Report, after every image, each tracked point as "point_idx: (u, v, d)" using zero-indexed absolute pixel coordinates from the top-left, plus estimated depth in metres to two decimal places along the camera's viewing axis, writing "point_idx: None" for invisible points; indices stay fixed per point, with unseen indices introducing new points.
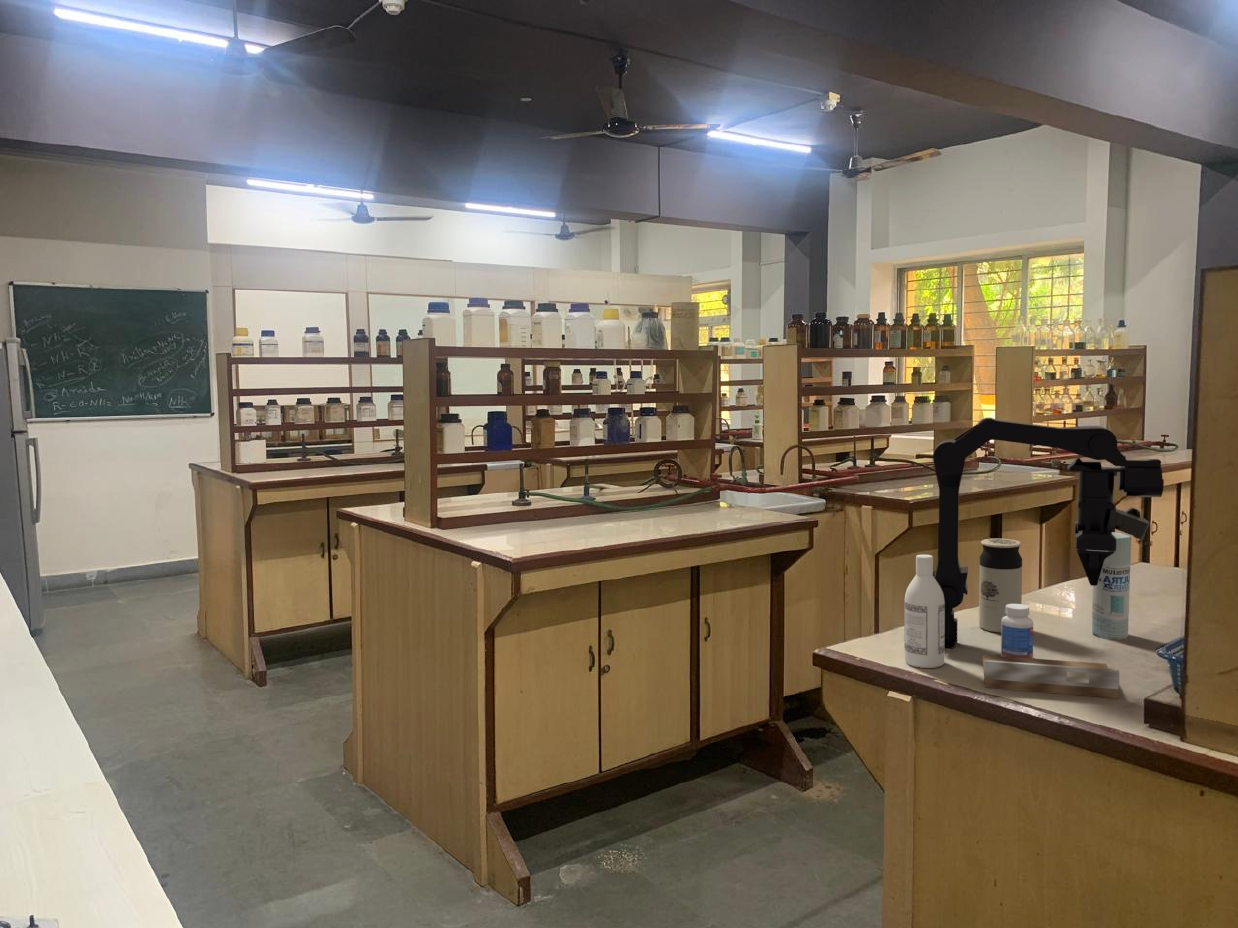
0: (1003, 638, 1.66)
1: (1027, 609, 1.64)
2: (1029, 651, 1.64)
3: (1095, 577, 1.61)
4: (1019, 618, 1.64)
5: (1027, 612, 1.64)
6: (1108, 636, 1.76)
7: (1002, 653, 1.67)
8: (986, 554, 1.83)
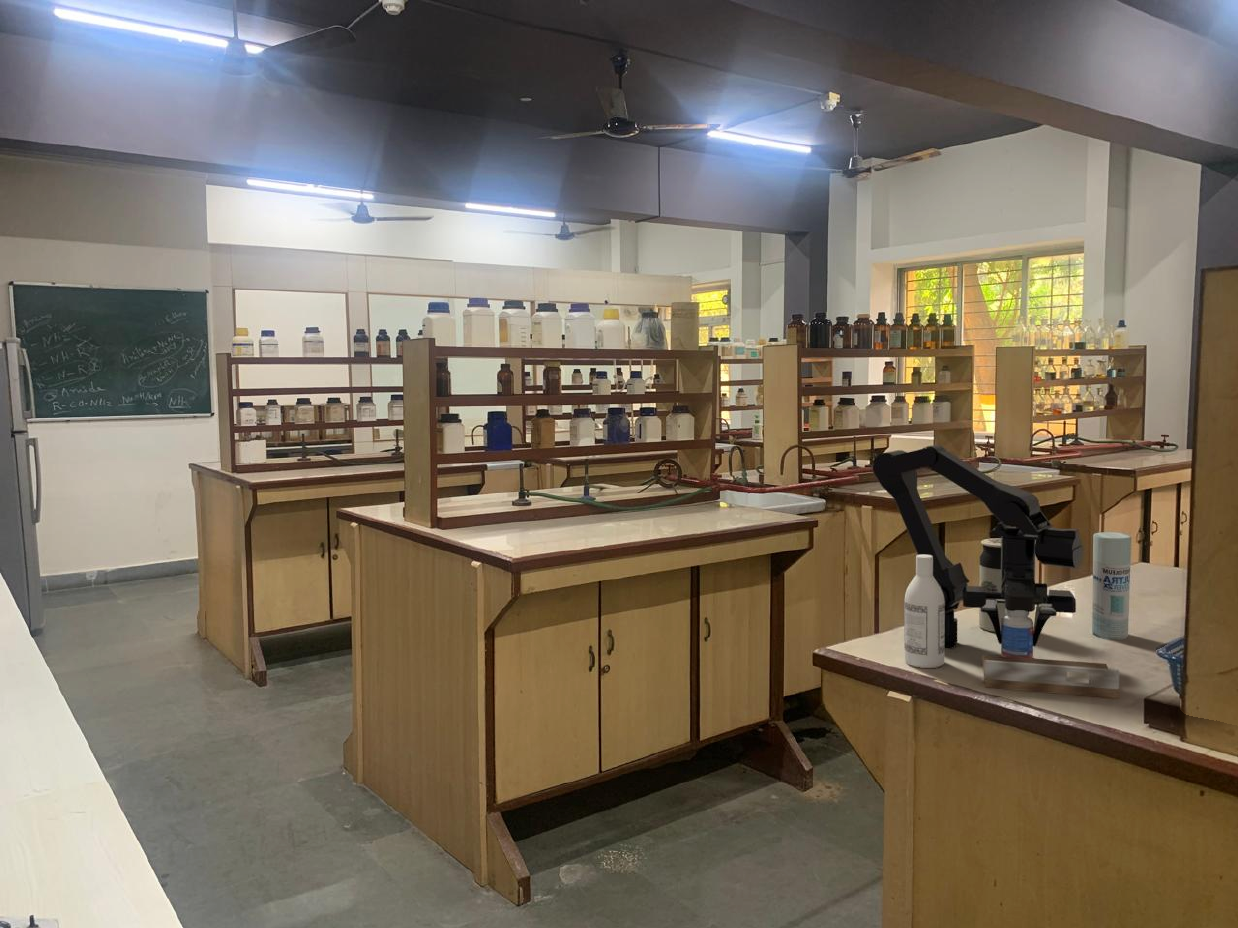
0: (1003, 638, 1.66)
1: None
2: (1029, 651, 1.64)
3: (996, 634, 1.67)
4: (1019, 617, 1.64)
5: (1027, 612, 1.64)
6: (1108, 636, 1.76)
7: (1002, 653, 1.67)
8: (986, 554, 1.83)
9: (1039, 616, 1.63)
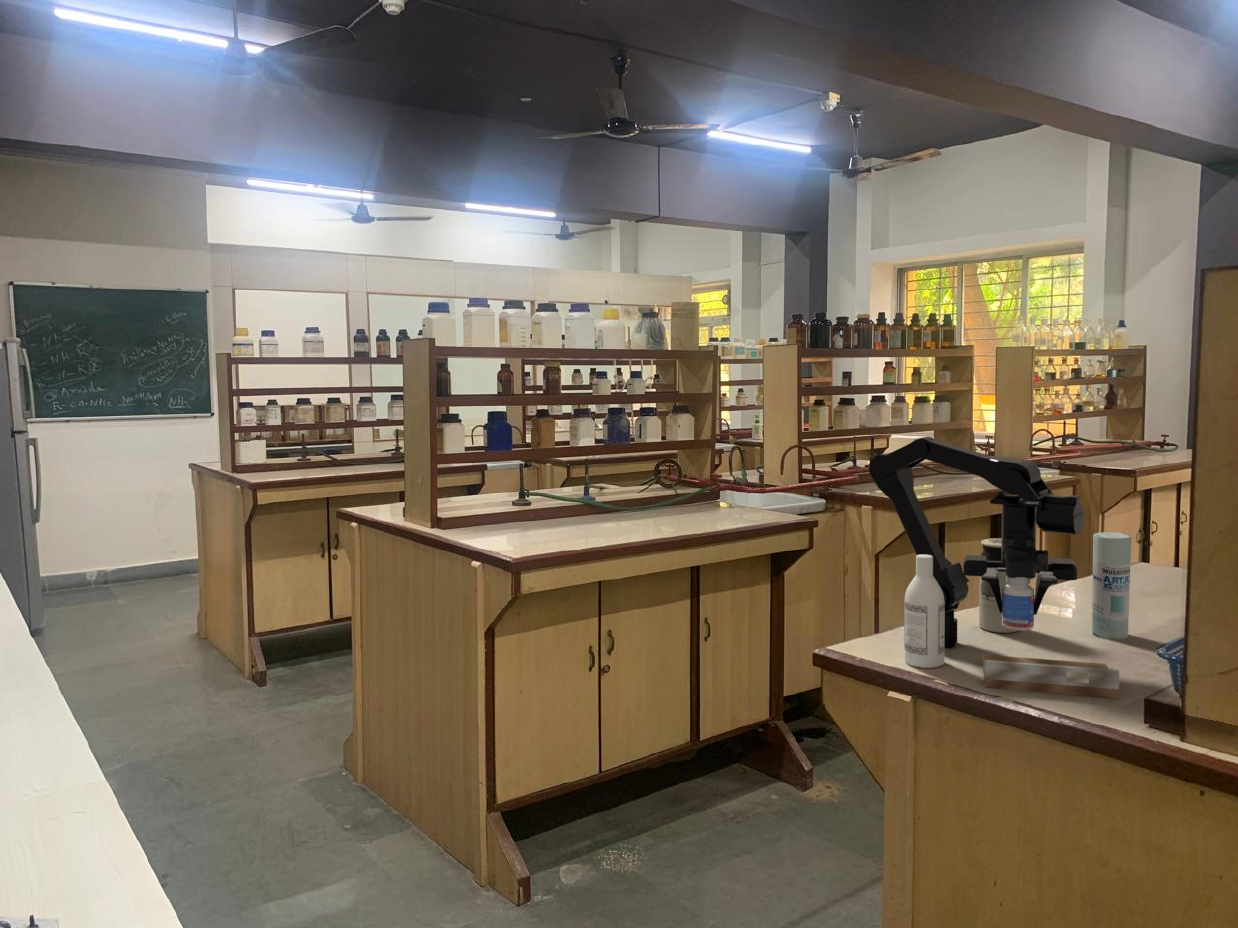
0: (1004, 607, 1.65)
1: None
2: (1030, 619, 1.64)
3: (997, 603, 1.67)
4: (1020, 586, 1.64)
5: (1028, 580, 1.64)
6: (1108, 636, 1.76)
7: (1003, 622, 1.66)
8: (986, 554, 1.83)
9: (1040, 584, 1.62)
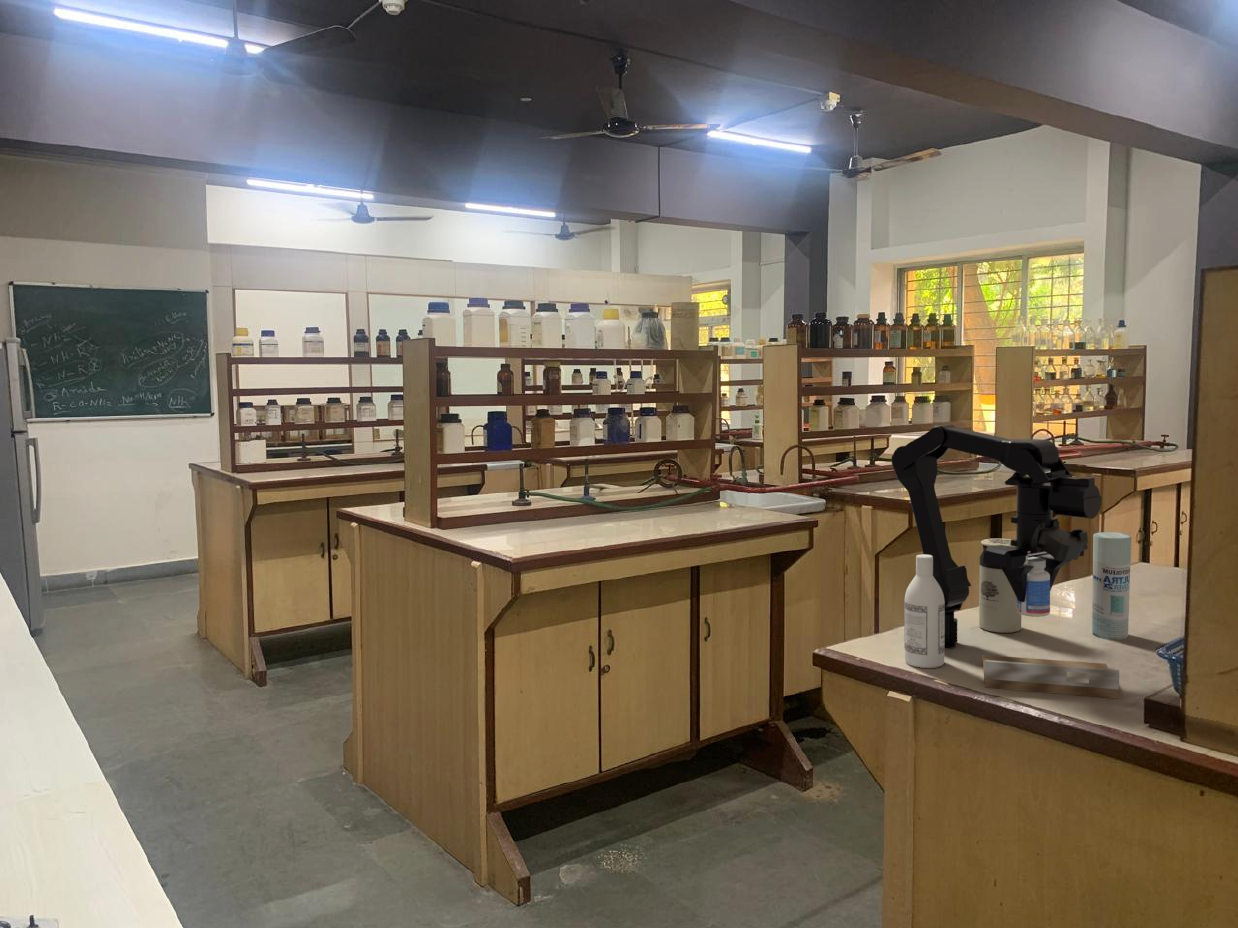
0: (1029, 595, 1.58)
1: None
2: None
3: (1019, 593, 1.58)
4: (1042, 570, 1.58)
5: None
6: (1108, 636, 1.76)
7: (1027, 611, 1.58)
8: None
9: (1059, 565, 1.59)
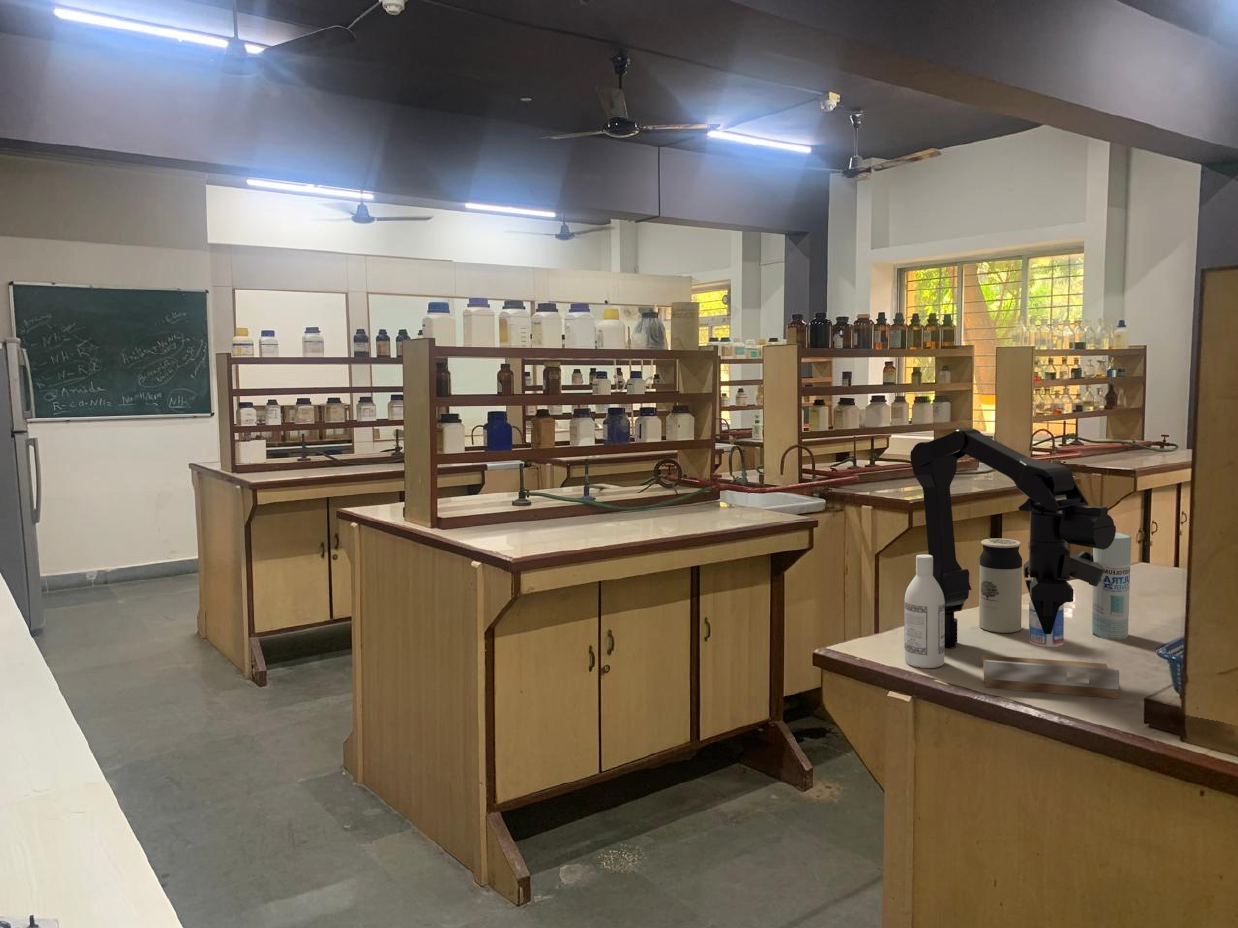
0: (1055, 625, 1.53)
1: None
2: None
3: (1049, 625, 1.52)
4: None
5: None
6: (1108, 636, 1.76)
7: (1053, 642, 1.53)
8: (986, 554, 1.83)
9: None
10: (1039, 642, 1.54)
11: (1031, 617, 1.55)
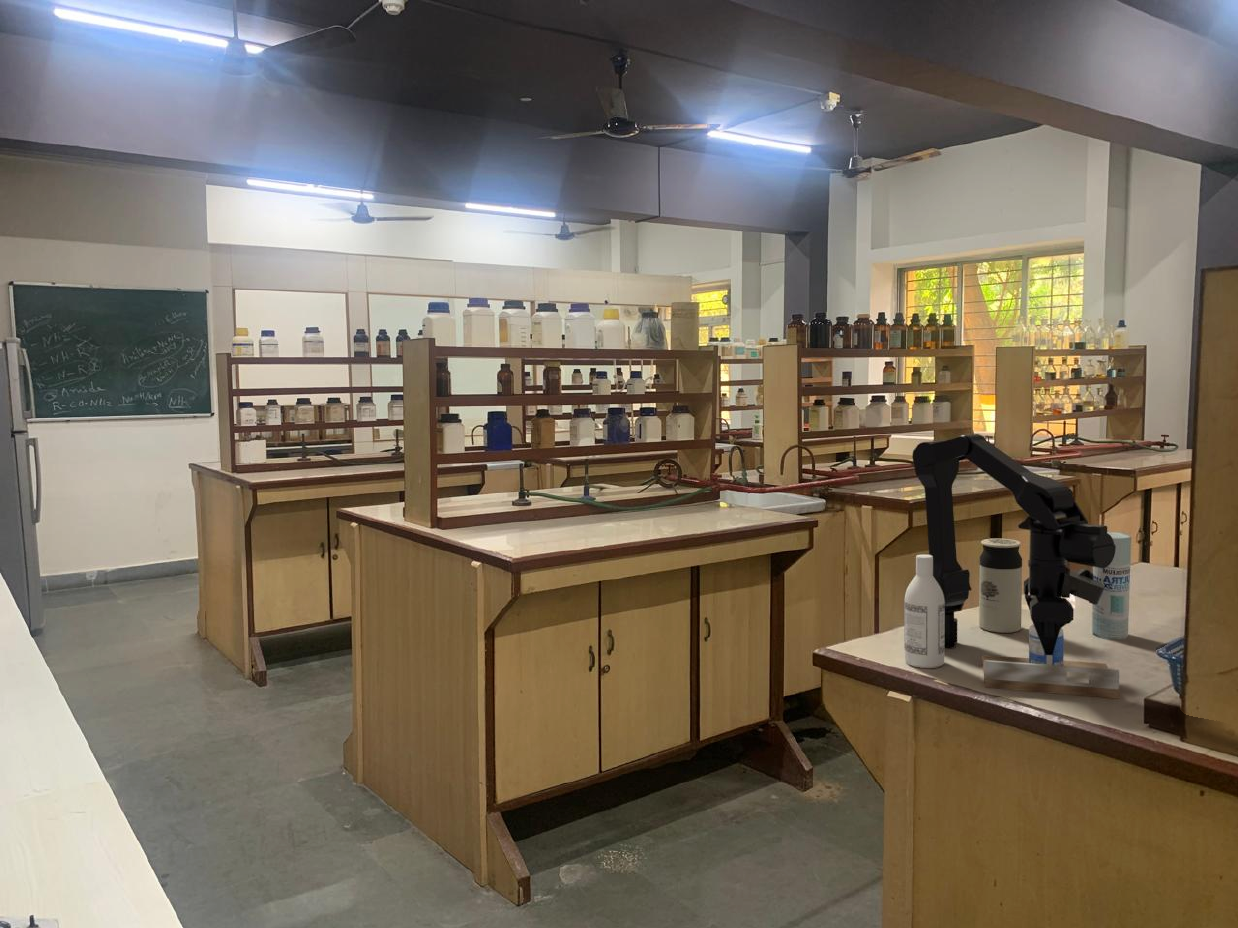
0: (1055, 651, 1.53)
1: None
2: None
3: (1050, 646, 1.50)
4: None
5: None
6: (1108, 636, 1.76)
7: None
8: (986, 554, 1.83)
9: None
10: None
11: (1031, 642, 1.55)
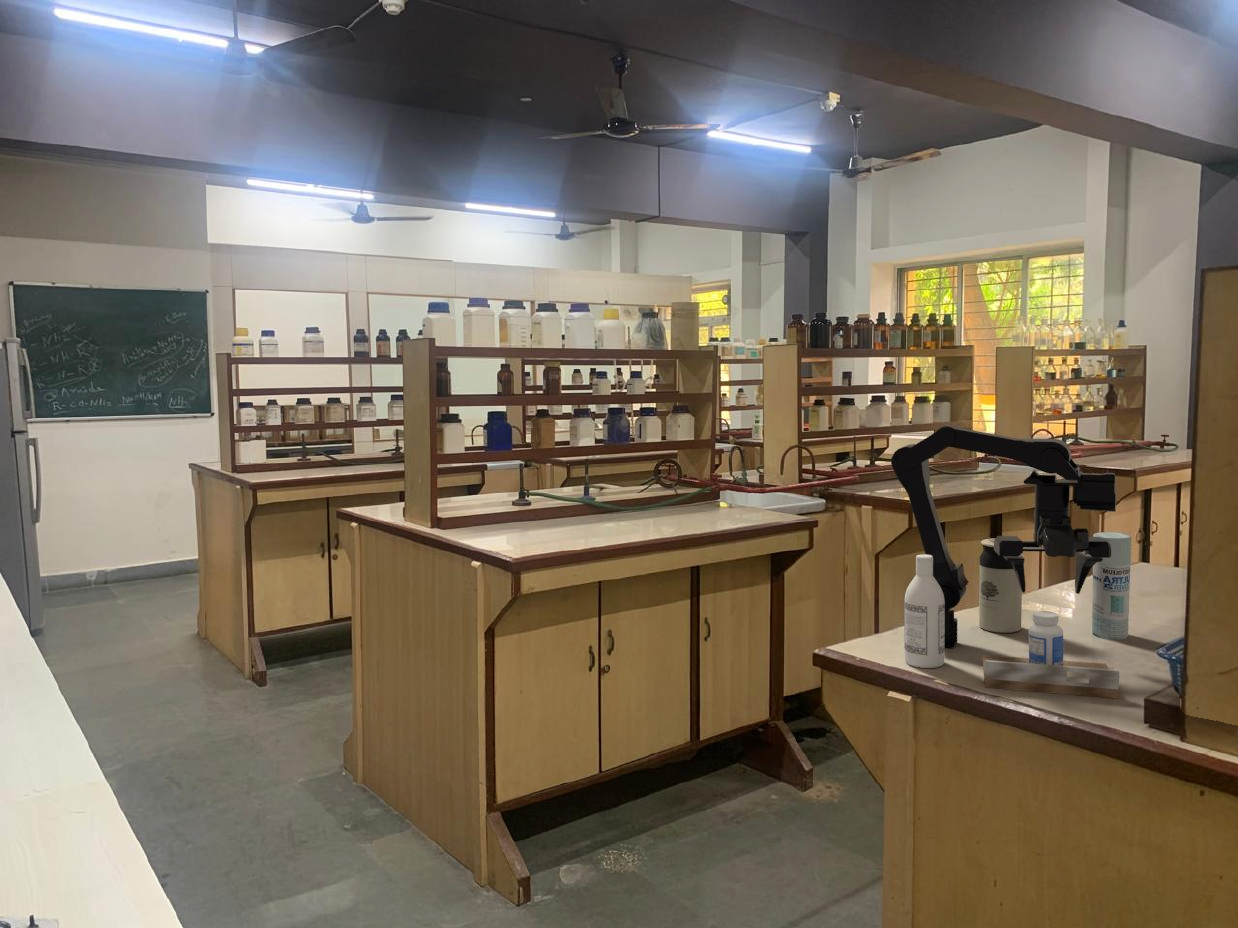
0: (1055, 651, 1.53)
1: None
2: None
3: (1019, 583, 1.67)
4: None
5: None
6: (1108, 636, 1.76)
7: None
8: (986, 554, 1.83)
9: (1085, 563, 1.62)
10: None
11: (1031, 643, 1.55)
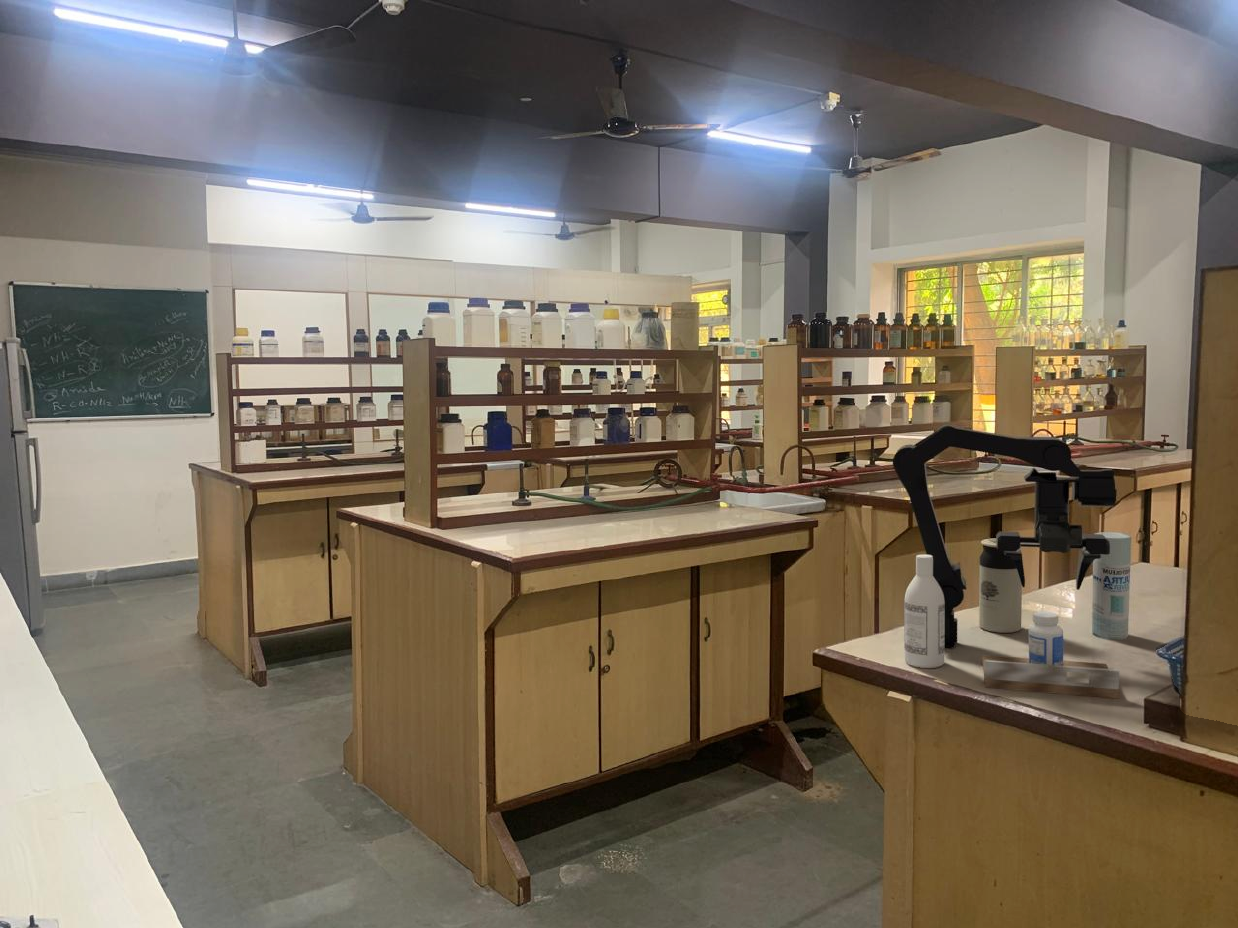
0: (1055, 651, 1.53)
1: None
2: None
3: None
4: None
5: None
6: (1108, 636, 1.76)
7: None
8: (986, 554, 1.83)
9: (1083, 559, 1.65)
10: None
11: (1031, 643, 1.55)
